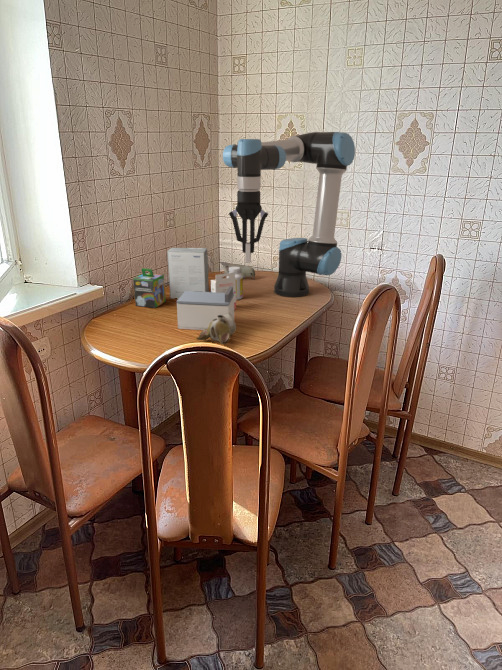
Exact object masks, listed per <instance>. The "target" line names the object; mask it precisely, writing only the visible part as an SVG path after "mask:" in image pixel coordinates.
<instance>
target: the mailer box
mask: <svg viewBox="0 0 502 670" xmlns="http://www.w3.org/2000/svg"><path fill="white" fill-rule="evenodd" d="M176 311H177V313H176V314H177V329H179V330H181V329H182V330H194V331H195V330H196V331H197V330H198V331H199V330H200V331H203V330H204V329H208V326H209V324H210V322H212V320H214V319H216V317H217V316H218V315H225V314H227V313H230V314H231V316H232V317H233V319H234V320H235V309H234V296H233V298H232V300H231V302H230V304H229V306H224V305H203V304H182V303H177V302H176Z"/></svg>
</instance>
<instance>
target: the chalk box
mask: <svg viewBox="0 0 502 670" xmlns="http://www.w3.org/2000/svg"><path fill="white" fill-rule="evenodd" d="M141 273H142V274H139V275H137V276H135V277H134V278H133V279H132V282H133V293H134V302H135V307H144V308H151V309H156V308H157V307H159V306H161V305H162V304H165V302H166V301H167V297H166V296H167V295H166V287H165V274H162V273H154V270H153V268H146V267H145V268H144V267H143V268H142V267H141Z"/></svg>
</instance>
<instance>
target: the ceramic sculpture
mask: <svg viewBox="0 0 502 670" xmlns="http://www.w3.org/2000/svg"><path fill="white" fill-rule="evenodd" d="M236 330H237V324H236V322H235V318H234V319H233V317H232V316H231V314H230V313H227V314H225V315H218V316H217V317H216V319H214V320H212V322H210V324H209V326H208V329H204V330H201V332H200V333H199V335H198V337H196V340H197V341H207V340H209V339H211V340H213V341H216V342H219V343H220V344H221V345H225V344H227V343H229V340H230V338H231V336H232V335H233V334H234V333H235V332H236Z"/></svg>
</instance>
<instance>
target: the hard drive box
mask: <svg viewBox="0 0 502 670" xmlns="http://www.w3.org/2000/svg"><path fill="white" fill-rule="evenodd" d="M166 256H167V269H168V270H167V272H168V286H169V287H168V288H169V298H170V299H175V298H177V299H176V300H178V299H179V298H180V297H181V295H182V294H183V293H184V292H185V291H194V292H210V284H209V283H210V282H209V260H208V259H209V258H208V248H207V247H171V248H170V249H168V250H167V251H166Z"/></svg>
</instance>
